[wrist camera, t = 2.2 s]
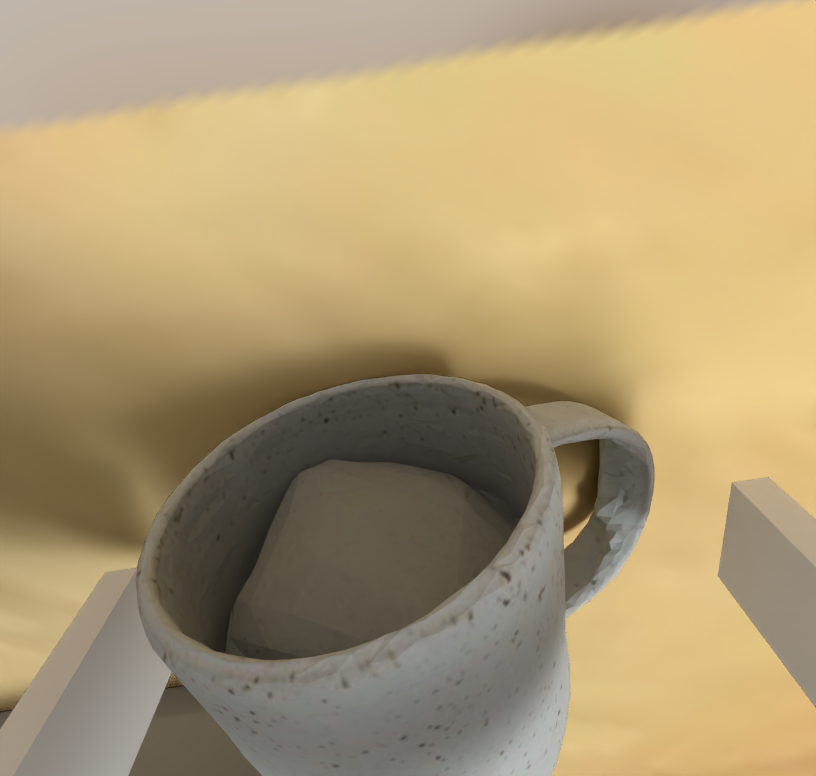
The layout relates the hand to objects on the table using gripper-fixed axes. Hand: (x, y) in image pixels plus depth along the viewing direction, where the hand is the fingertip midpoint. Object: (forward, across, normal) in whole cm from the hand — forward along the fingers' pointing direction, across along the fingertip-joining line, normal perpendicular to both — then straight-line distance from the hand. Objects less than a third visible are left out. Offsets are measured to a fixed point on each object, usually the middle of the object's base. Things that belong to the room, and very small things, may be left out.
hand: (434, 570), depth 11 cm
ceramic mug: (+3, 0, 0) cm, 3 cm away
